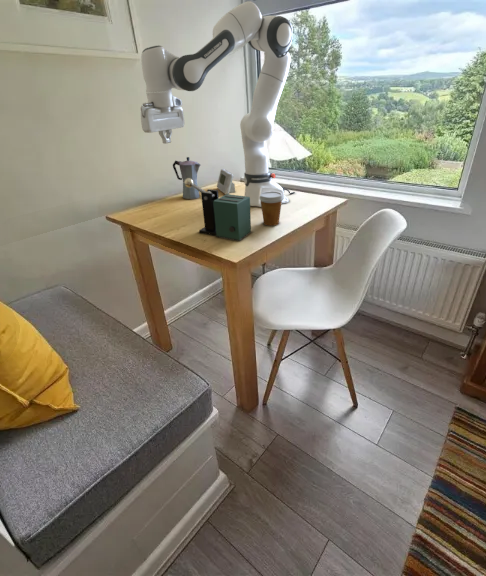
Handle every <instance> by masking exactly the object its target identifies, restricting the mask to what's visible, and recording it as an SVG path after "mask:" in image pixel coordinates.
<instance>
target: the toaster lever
mask: <svg viewBox="0 0 486 576" xmlns="http://www.w3.org/2000/svg"><path fill="white" fill-rule="evenodd" d="M184 183H185V186H187V187H193V188H195V189H196V190H198V191H199V193H201V192H207V190H205V189H203V188H202V187H200V186H197V185H198V184H197V185H195V184H194V183H193V180H192V179H191V178H187V179H186V180H185V182H184ZM208 193H212V192H211V191H208ZM212 196H213V200H214V197H215V194H214V193H212Z"/></svg>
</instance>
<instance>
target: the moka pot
mask: <svg viewBox="0 0 486 576" xmlns="http://www.w3.org/2000/svg"><path fill="white" fill-rule="evenodd" d="M176 165H177V166H179V170H180V175H181V177H180V175H179V173H178V170H177V167H176ZM200 166H202V165H201V164H200V163H199V162H198V161H195V160H190V157H189V156H186V160H183V161H180V160H175V161H174V162H173V163H172V168H173V171H174V174H175V176H176V178H177V180H179V181H182V198H183V199H186V200H197V199H199V198H200V192H199V191H198V190H196V189H195V188H193V187H187V186H185V183H184V182H185V180H186V179H187V178H191V179H192V180H193V183H194V184H195V185H197V186H198V172H199V169H200ZM198 187H199V186H198Z"/></svg>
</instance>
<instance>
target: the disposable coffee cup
mask: <svg viewBox="0 0 486 576" xmlns="http://www.w3.org/2000/svg"><path fill="white" fill-rule="evenodd" d="M259 199H260V201H261V207H260V208H261V215H262V219H263V220H262V221H263V225H264V226H268V227H269V226H270V227H274V226H277V225H279V223H280V217H281V210H282V204H283V203H282V199H283V196H282V194H281V193H279V192H264V193H261V195H260V197H259ZM281 203H282V204H281Z"/></svg>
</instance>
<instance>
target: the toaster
mask: <svg viewBox="0 0 486 576" xmlns="http://www.w3.org/2000/svg"><path fill="white" fill-rule="evenodd" d="M213 204H214V214H215V225H216V235H217V236H216V238H220V239H225V240H230V241H236V242H240V241H242V240H243V239H244V238H246V237H247V236H248V235H250V234H251V233H252V226H251V225H252V222H251V206H250V197H246V196H245V195H238V194H236V195H235V194H231V193H229V194H224V195H222V196H220V197H219V198H218V199H216V200H214V201H213Z"/></svg>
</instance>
